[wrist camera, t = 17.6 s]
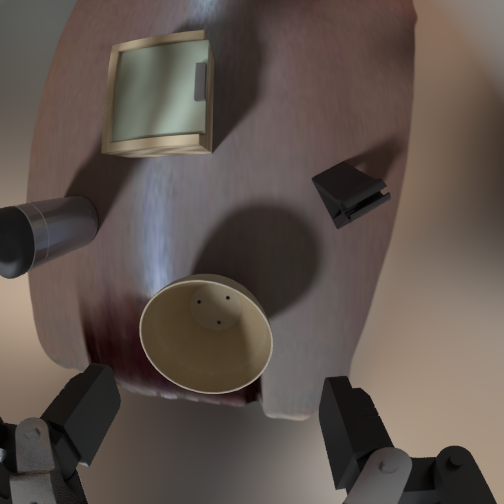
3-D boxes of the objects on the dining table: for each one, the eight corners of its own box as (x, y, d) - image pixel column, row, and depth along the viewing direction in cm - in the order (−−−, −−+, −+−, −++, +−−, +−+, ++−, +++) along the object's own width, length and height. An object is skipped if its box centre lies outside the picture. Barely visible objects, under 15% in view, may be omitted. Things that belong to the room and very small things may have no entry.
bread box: (134, 158, 42) (99, 152, 30) (139, 70, 38) (110, 44, 27) (216, 153, 42) (202, 142, 30) (218, 61, 38) (208, 27, 27)
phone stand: (311, 178, 42) (331, 177, 31) (343, 161, 42) (373, 155, 30) (336, 229, 44) (363, 245, 33) (367, 212, 44) (401, 222, 32)
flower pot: (178, 239, 45) (153, 259, 33) (284, 276, 46) (294, 308, 34) (154, 331, 49) (131, 368, 37) (247, 362, 50) (246, 407, 38)
